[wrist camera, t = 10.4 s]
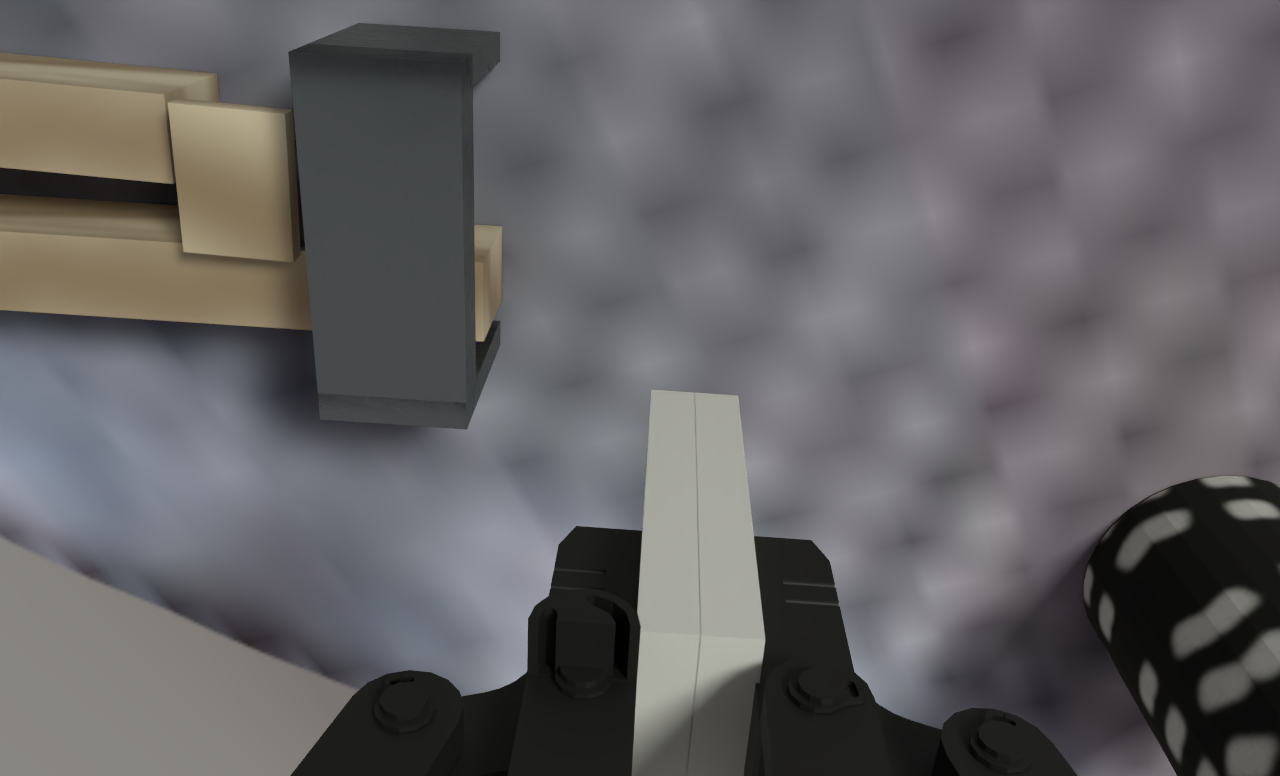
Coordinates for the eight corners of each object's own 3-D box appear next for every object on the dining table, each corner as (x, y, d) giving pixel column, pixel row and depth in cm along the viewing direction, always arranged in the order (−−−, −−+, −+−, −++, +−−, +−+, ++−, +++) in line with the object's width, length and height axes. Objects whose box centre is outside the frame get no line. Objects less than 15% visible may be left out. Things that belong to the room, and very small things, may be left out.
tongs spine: (-290, 104, 31) (-402, 128, 28) (502, 155, 31) (482, 186, 28) (-242, 253, 33) (-341, 291, 30) (502, 301, 33) (483, 346, 30)
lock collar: (358, 23, 29) (288, 52, 24) (499, 32, 29) (460, 63, 24) (376, 335, 34) (319, 419, 28) (500, 343, 34) (466, 429, 28)
